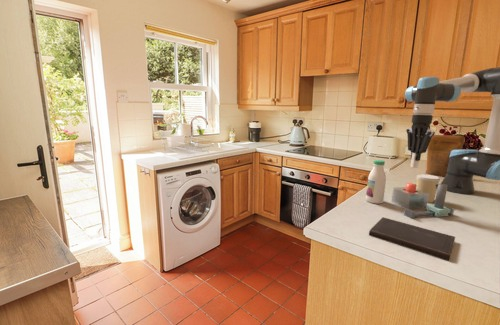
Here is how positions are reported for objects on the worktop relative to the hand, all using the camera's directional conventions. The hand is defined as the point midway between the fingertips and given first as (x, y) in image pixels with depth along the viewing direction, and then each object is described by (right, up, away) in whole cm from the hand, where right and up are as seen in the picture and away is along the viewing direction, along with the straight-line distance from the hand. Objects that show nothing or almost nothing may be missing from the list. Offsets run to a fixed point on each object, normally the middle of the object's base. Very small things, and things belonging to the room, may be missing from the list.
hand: (413, 167), depth 119 cm
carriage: (+6, -20, -7) cm, 22 cm away
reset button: (0, -14, +3) cm, 14 cm away
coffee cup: (+12, -17, +12) cm, 24 cm away
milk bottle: (-14, -17, +8) cm, 23 cm away
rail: (+1, -20, -8) cm, 22 cm away
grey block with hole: (0, -18, +4) cm, 18 cm away
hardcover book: (-19, -25, -28) cm, 42 cm away
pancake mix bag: (+55, -7, +60) cm, 82 cm away
